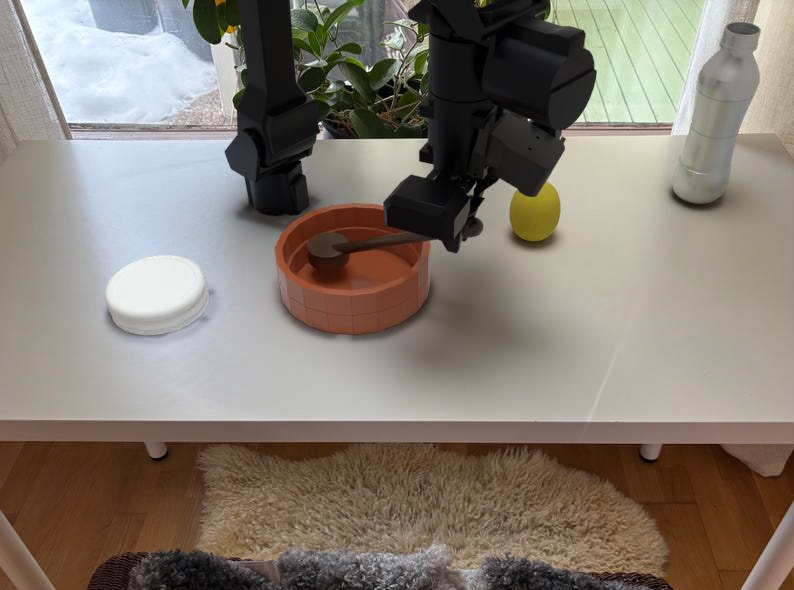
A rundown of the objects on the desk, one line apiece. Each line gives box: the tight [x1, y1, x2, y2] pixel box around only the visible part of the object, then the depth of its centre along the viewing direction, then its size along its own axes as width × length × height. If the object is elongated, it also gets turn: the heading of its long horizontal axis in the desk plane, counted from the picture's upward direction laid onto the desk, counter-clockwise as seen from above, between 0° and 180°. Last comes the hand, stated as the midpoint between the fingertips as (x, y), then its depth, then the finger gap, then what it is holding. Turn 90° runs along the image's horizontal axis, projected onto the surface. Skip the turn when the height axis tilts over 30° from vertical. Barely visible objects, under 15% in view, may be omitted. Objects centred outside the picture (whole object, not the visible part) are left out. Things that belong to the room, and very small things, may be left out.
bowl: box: [274, 202, 432, 335], centre depth 80 cm, size 16×16×6 cm
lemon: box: [508, 180, 562, 242], centre depth 85 cm, size 6×6×8 cm
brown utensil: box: [307, 216, 484, 271], centre depth 76 cm, size 19×4×10 cm, turn 65°
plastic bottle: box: [671, 21, 762, 205], centre depth 87 cm, size 6×7×20 cm
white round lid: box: [104, 254, 210, 336], centre depth 79 cm, size 10×10×4 cm
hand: (457, 245), depth 73 cm, fingers closed on brown utensil, 2 cm apart
